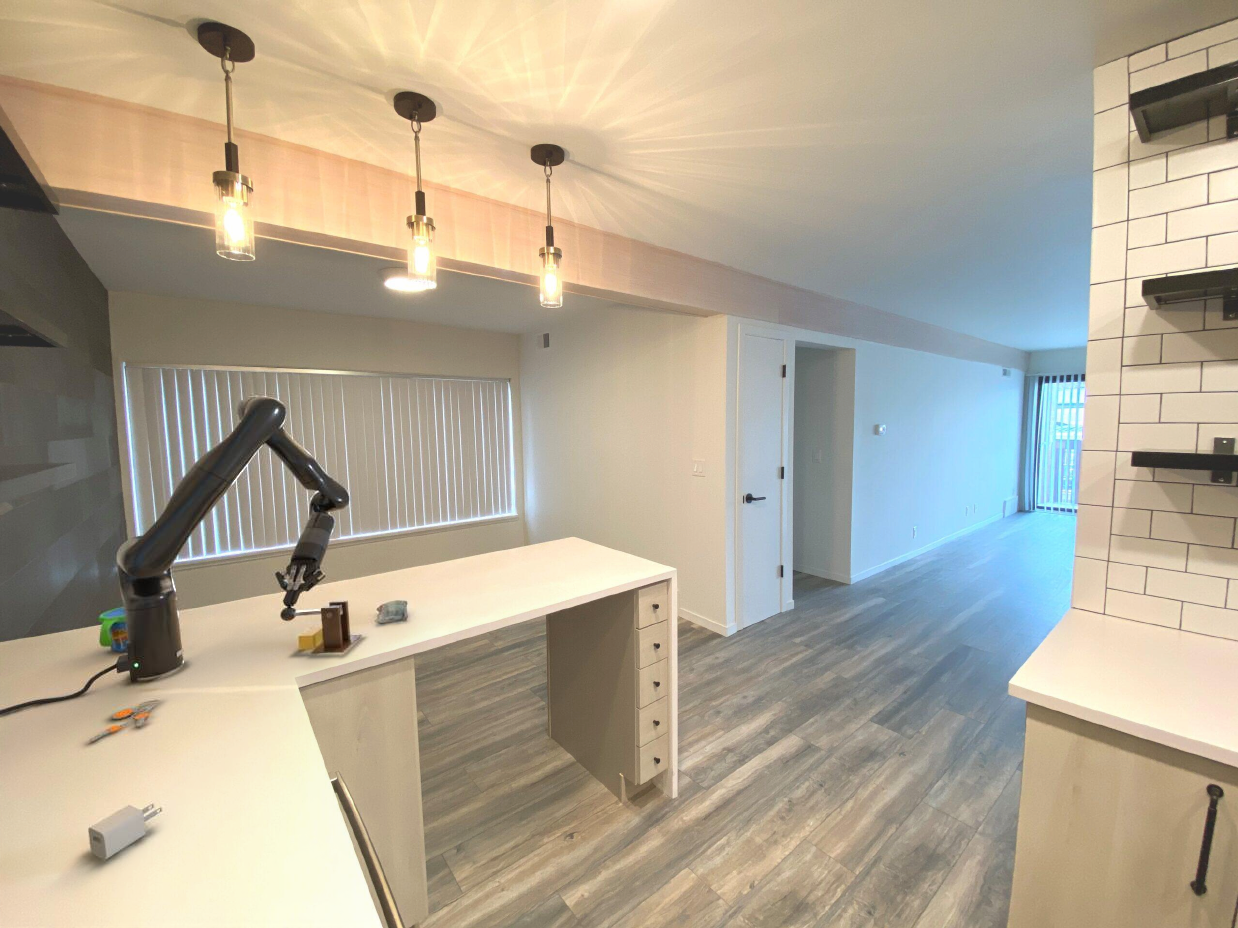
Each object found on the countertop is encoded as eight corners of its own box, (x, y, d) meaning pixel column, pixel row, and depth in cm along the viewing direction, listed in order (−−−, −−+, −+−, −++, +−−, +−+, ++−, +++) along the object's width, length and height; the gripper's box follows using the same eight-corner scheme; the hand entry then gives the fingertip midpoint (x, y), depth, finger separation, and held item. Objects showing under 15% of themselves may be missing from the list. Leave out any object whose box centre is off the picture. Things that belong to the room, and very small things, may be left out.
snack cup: (137, 634, 143) (133, 600, 142) (175, 633, 144) (172, 598, 143) (81, 661, 128) (76, 622, 127) (124, 659, 128) (119, 621, 127)
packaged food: (375, 629, 144) (374, 612, 143) (377, 614, 155) (376, 599, 154) (408, 624, 147) (407, 607, 147) (407, 610, 158) (407, 595, 158)
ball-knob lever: (278, 623, 130) (276, 610, 130) (286, 618, 134) (285, 605, 133) (337, 619, 130) (335, 606, 130) (344, 614, 134) (343, 601, 134)
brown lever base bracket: (311, 656, 128) (307, 612, 127) (332, 639, 138) (329, 597, 137) (343, 655, 128) (339, 611, 127) (362, 638, 138) (359, 596, 137)
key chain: (123, 707, 106) (123, 703, 106) (166, 699, 109) (166, 696, 109) (84, 743, 95) (84, 739, 94) (134, 734, 97) (133, 730, 97)
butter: (293, 655, 129) (292, 638, 128) (311, 641, 137) (310, 625, 136) (312, 655, 129) (311, 637, 128) (329, 641, 137) (328, 624, 136)
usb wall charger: (91, 852, 71) (87, 825, 70) (151, 815, 77) (148, 791, 77) (107, 860, 69) (103, 833, 69) (167, 822, 76) (164, 797, 75)
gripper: (281, 541, 139) (254, 600, 128) (329, 539, 140) (307, 598, 129) (294, 554, 145) (270, 612, 134) (340, 553, 146) (320, 610, 135)
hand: (288, 605), depth 132 cm, fingers closed
